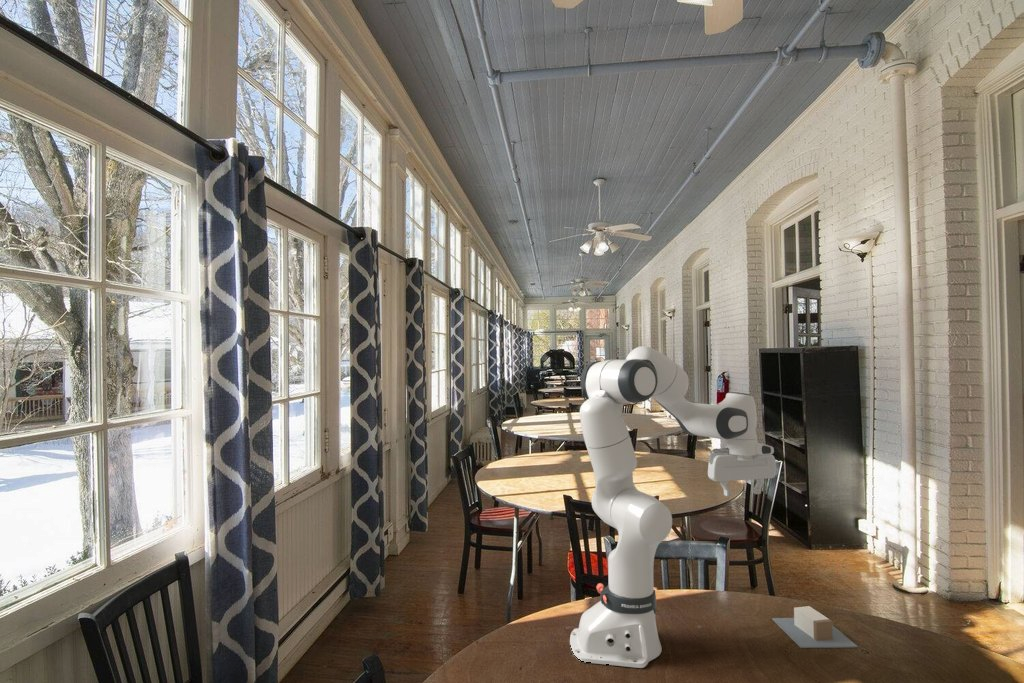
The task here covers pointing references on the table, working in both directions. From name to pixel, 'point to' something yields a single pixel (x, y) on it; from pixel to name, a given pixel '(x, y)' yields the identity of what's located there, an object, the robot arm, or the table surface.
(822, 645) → the slate mat
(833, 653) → the table surface
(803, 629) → the cream block
